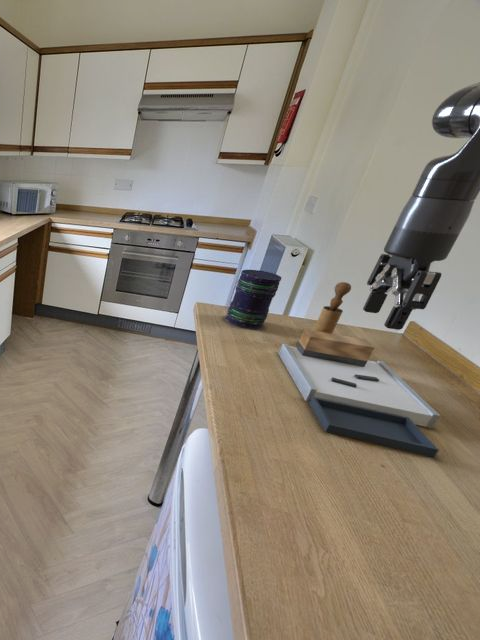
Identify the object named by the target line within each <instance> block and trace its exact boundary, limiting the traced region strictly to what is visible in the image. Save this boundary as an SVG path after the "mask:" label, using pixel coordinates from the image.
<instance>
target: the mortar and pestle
mask: <svg viewBox="0 0 480 640" xmlns="http://www.w3.org/2000/svg"><path fill="white" fill-rule="evenodd" d="M351 290H352V286H351V284H350V283H349V282H347V281H341V282H338V283H336V285H335V286H334V293H335V294H334V297H333V298H331V299H330V302H329V305H328V306H323V308H322V309H321V312H320V314H319V316H318V318H317V321H316V322H315V325H314V327H313V329H312V331H318V332H324V333H330V334H334V331H335V328H336V326H337V325H338V323H339V321H340V318H341V316H342V314H343V312H344V310H343V309H342V308H340V306H341V305H342V304H343V302H344V301H343V297H344V296H345V295H347V294H348V293H350V292H351Z"/></svg>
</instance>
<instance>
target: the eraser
mask: <svg viewBox="0 0 480 640" xmlns="http://www.w3.org/2000/svg"><path fill="white" fill-rule="evenodd" d="M296 347H297V349H298V350H299V352H300V353H301V355H302V356H308V357H313V358H319V359H324V360H329V361H335V362H340V363H345V364H351V365H356V366H361V367H365V365H366V363H367V361H368V360H369V359H370V357H371V356H372V354H373V351H374V350H375V347H374V345H372V344H371V343H370V342H369V341H368V340H367V339H366V338H359V337H353V336H347V335H342V334H336V333H332V334H330V333H324V332H318V331H313V329H307V328H305V329H303V331H302V334H301V336H300V338H299V341H298V343H297V345H296Z"/></svg>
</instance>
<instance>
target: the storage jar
mask: <svg viewBox="0 0 480 640" xmlns="http://www.w3.org/2000/svg"><path fill="white" fill-rule="evenodd" d="M240 272H241V273H240V276H239V278H238V280H237V282H236V286H235V292H234V295H233V298H232V301H230V304H229V306H228V309H227V313H226V316H225V319H224V320H225V321H226V322H227V323H229V324H231V325H232V326H235V327H239V328H242V329H249V330H261V329H262V328H263V327H264V323H265V322H266V320H267V319H268V318H267V317H268V314H269V312H270V306H271V304H272V301H273V299H274V298H275V296H276V293H277V291H278V290H279V286H280V282H281V281H282V276H280V275H279V274H276V273H272V272H269V271H264V270H259V269H258V270H257V269H242V270H241V271H240Z"/></svg>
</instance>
